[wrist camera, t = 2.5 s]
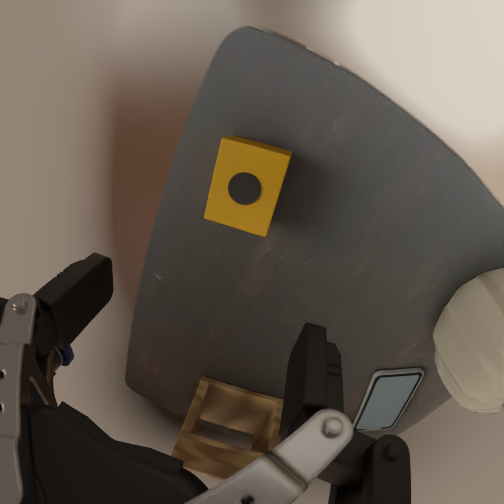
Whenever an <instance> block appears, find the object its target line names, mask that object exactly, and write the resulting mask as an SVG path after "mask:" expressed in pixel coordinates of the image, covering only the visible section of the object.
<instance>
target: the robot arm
mask: <svg viewBox="0 0 504 504" xmlns="http://www.w3.org/2000/svg"><path fill="white" fill-rule="evenodd" d="M112 294H113V273H112V261H111V259H110V258H108V257H106V256H103V255H101V254H98V253H92V254H91V255H90V256H88V257H87V258H86V259H84V260H80V261H78V262H75V263H73V264H71V265H70V266H68V267H67V268H66V269H64V270H63V272H61V273H59V274H58V275H57V277H54V278H53V279H52V280H51V281H49V282H48V283H47V284H46V285H44V286H43V287H42V288H41V289H40V290H38V291H37V292H36V293H35V294H34V295H32V296H31V295H30V294H25V293H23V294H18V295H15V296H13V297H12V298H11V299H10V300H8V299H5V298H1V297H0V504H291V503H292V502H294V501H295V500H296V499H297V498H298V497H299V496H300V495H301V494H302V493H304V491H305V490H306V489H307V488H308V485H309V484H310V482H311V481H313V480H314V479H315V478H319V479H321V480H323V481H326V482H329V483H331V488H330V495H329V502H328V504H411V473H410V454H409V449H408V446H407V444H406V443H405V442H404V441H403V440H402V439H401V438H400V437H398V436H395V435H384V436H382V437H380V438H379V439H378V440H376V439H374V438H371V437H369V436H366V435H364V434H362V433H359V432H357V431H356V430H355V429H353V426H352V423H351V421H350V420H349V418H348V417H347V416H346V415H345V414H344V406H343V383H342V377H341V376H342V368H341V355H340V353H339V351H338V349H337V347H336V345H335V344H334V343H330V342H327V338H326V328H325V327H322V326H319V325H315V324H311V323H305V325H304V327H303V329H302V331H301V333H300V335H299V337H298V339H297V341H296V343H295V345H294V347H293V349H292V352H291V355H290V358H289V362H288V369H287V377H286V385H285V393H284V400H283V407H282V414H281V421H280V428H279V435H278V436H283V437H287V438H286V439H285V440H284V441H283V442H281V443H280V444H279V445H278V446H276V447H275V448H274V449H272V450H271V451H268V452H266V453H264V454H263V455H261V456H260V457H258V458H257V459H256V460H254V461H253V462H251V463H250V464H249V465H247V466H246V467H244V468H243V469H241V470H240V471H238V472H237V473H235V474H234V475H232V476H231V477H229V478H227V479H226V480H224V481H223V482H221V483H219V484H218V485H216V486H215V487H213V488H211V489H208V488H207V487H206V485H205V484H204V483H203V482H202V481H201V480H200V479H199V478H198V477H197V476H195V475H194V474H192V473H191V472H190V471H188V470H187V469H185V468H184V467H183V464H184V461H183V460H180V459H177V458H175V457H172V456H169V455H167V454H164V453H161V452H159V451H156V450H154V449H151V448H148V447H143V446H138V445H133V444H129V443H124V442H120V441H116V440H114V439H112V438H111V437H110V436H108V435H107V434H106V433H105V432H104V431H103V430H101V429H100V428H99V427H98V426H97V425H96V424H95V423H94V422H93V421H92V420H91V419H90V418H88V417H87V416H86V415H84V414H82V413H80V412H79V411H77V410H76V409H74V408H72V407H70V406H69V405H68V404H66V403H65V402H63V401H62V402H61V404H60V405H59V407H58V406H57V402H56V399H55V396H54V389H53V377H54V375H55V374H56V373H55V371H56V370H57V369H58V367H60V365H61V364H62V363H63V362H64V361H65V357H64V354H63V352H62V350H64V351H65V350H66V349H67V348H68V346H69V345H70V344H71V343H72V342H73V341H74V340H75V338H76V337H77V336H78V335H79V334H80V333H81V331H82V330H83V329H84V328H85V327H86V326H87V325H88V324H89V323H90V321H91V320H92V319H93V318H94V317H95V316H96V315H97V314H98V313H99V312H100V311H101V310H102V309H103V307H104V306H105V305H106V304H107V303H108V302H109V301H110V299H111V297H112ZM60 348H61V349H62V350H61V349H60Z"/></svg>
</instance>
